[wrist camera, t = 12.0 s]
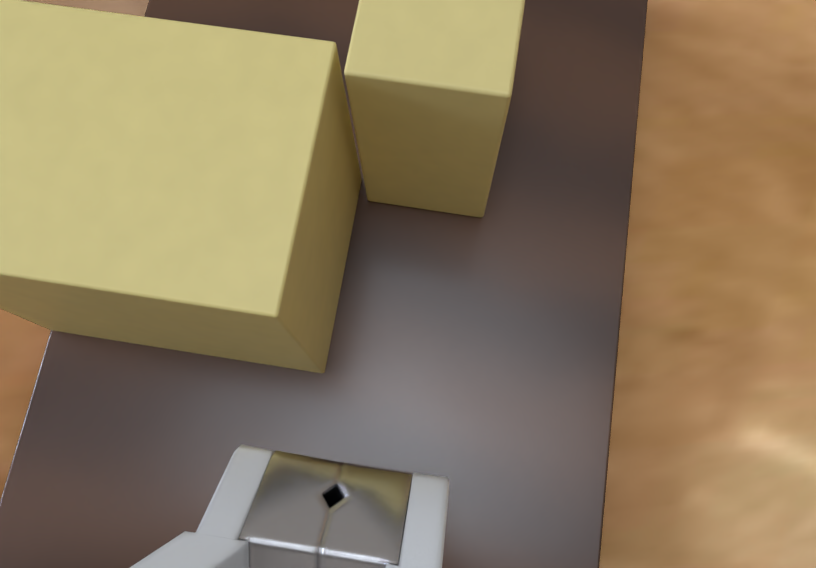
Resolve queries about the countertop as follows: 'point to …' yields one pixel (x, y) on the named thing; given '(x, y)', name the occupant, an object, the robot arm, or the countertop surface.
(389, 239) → the butter board
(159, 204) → the butter block
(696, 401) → the countertop surface
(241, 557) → the robot arm
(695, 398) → the countertop surface
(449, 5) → the butter slice
